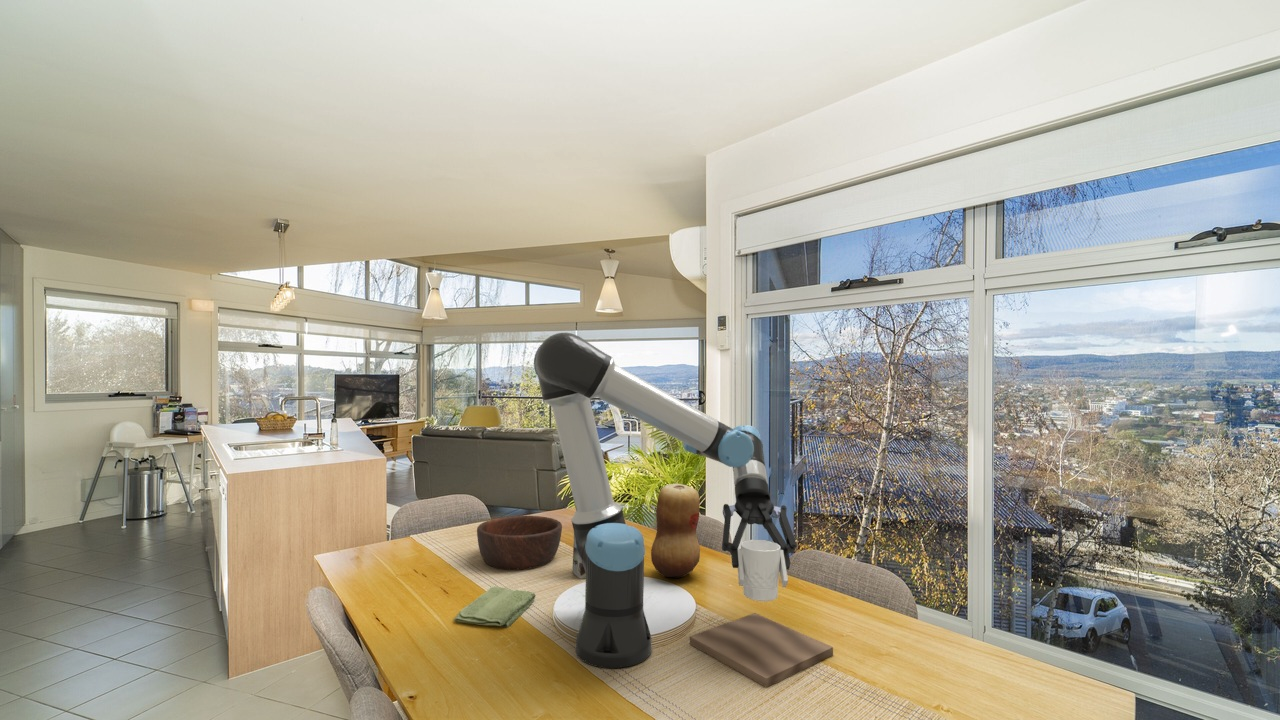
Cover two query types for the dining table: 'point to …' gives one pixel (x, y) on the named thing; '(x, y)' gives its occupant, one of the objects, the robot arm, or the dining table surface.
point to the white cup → (761, 569)
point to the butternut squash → (676, 531)
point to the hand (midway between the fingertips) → (763, 583)
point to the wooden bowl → (519, 541)
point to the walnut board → (761, 648)
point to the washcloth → (496, 607)
